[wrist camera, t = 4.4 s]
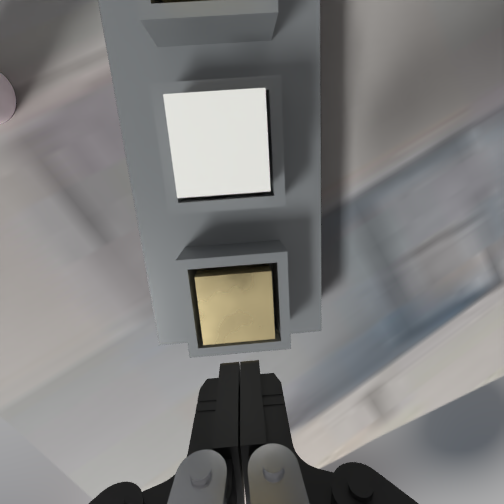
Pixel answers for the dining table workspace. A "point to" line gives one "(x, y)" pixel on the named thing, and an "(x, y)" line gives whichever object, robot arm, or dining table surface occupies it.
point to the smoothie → (6, 99)
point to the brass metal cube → (172, 0)
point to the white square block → (218, 142)
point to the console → (231, 205)
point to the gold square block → (235, 303)
